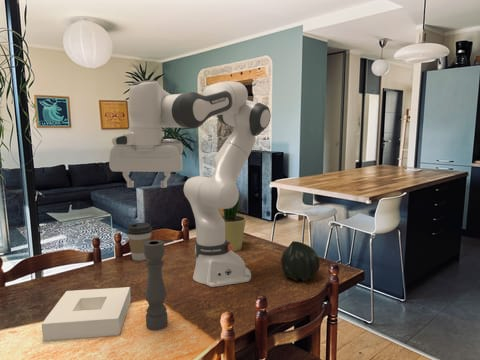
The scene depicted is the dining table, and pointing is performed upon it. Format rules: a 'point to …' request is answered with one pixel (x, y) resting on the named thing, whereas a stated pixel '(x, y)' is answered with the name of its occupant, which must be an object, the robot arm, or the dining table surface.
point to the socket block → (87, 314)
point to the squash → (299, 261)
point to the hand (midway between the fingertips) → (147, 187)
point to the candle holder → (155, 286)
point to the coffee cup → (138, 239)
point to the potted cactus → (234, 227)
